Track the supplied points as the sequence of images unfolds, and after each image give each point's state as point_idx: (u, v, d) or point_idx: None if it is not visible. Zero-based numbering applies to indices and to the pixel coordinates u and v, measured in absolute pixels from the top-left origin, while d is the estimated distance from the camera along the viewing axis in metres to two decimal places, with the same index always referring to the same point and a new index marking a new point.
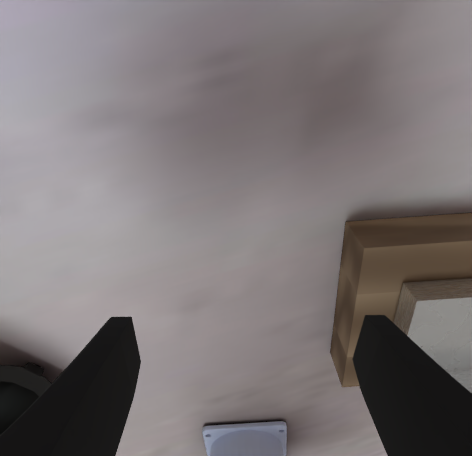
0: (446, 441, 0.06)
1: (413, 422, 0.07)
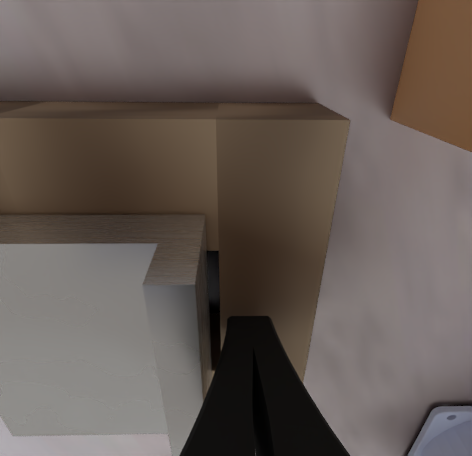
0: (270, 444, 0.06)
1: (261, 424, 0.07)
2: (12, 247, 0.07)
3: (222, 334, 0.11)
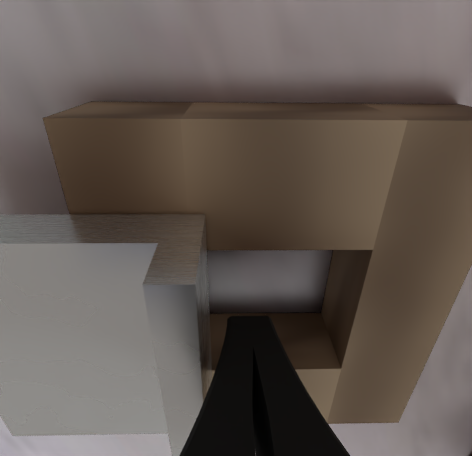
0: (270, 444, 0.06)
1: (261, 424, 0.07)
2: (12, 247, 0.07)
3: (352, 333, 0.11)
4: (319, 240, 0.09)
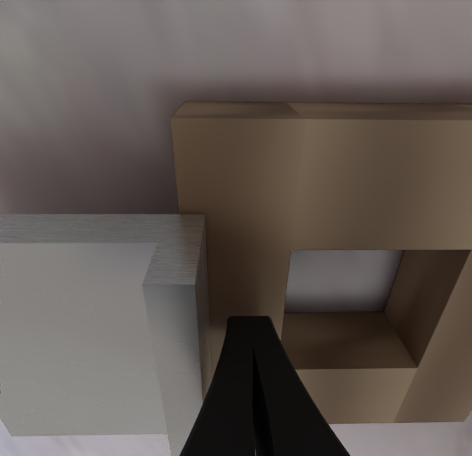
0: (270, 444, 0.06)
1: (261, 424, 0.07)
2: (11, 246, 0.07)
3: (435, 332, 0.11)
4: (420, 240, 0.09)
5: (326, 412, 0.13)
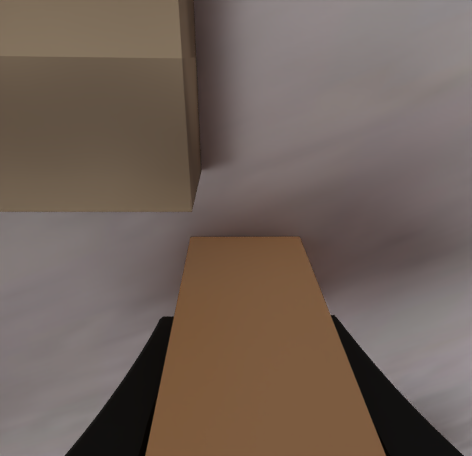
0: None
1: None
2: None
3: None
4: None
5: None
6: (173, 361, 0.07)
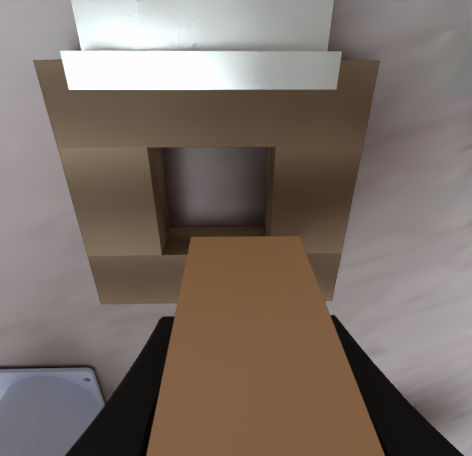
0: None
1: None
2: None
3: None
4: (277, 225, 0.15)
5: (91, 198, 0.14)
6: (174, 360, 0.07)
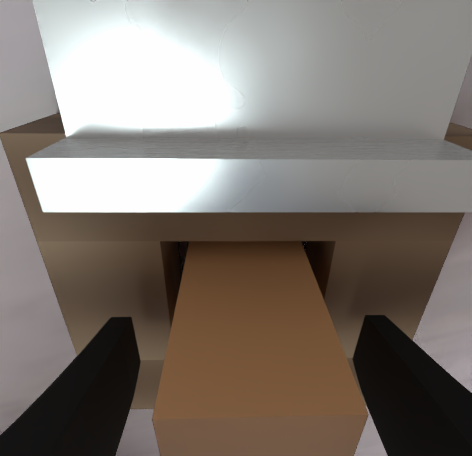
0: (446, 441, 0.06)
1: (414, 422, 0.07)
2: None
3: None
4: None
5: (83, 299, 0.11)
6: (181, 312, 0.08)
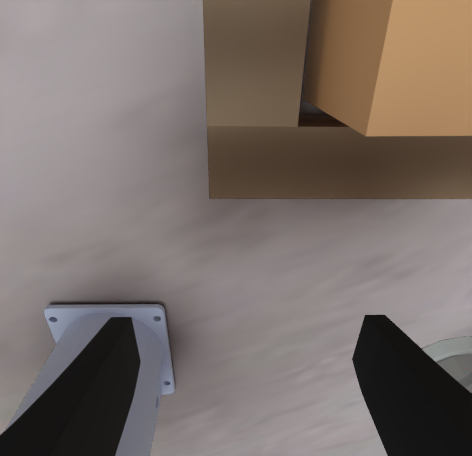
0: (446, 441, 0.06)
1: (414, 422, 0.07)
2: None
3: (343, 128, 0.13)
4: None
5: (228, 36, 0.11)
6: None
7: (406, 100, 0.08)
